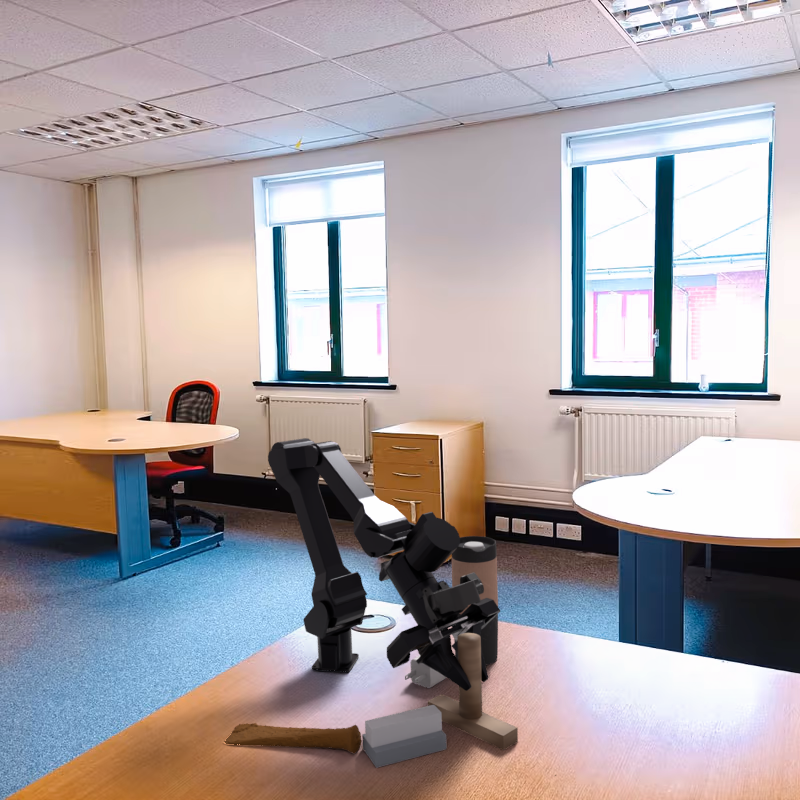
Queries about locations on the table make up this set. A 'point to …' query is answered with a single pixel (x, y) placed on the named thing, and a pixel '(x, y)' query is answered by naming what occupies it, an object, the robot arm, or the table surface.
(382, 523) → the robot arm
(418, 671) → the usb wall charger
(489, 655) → the travel mug
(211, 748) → the table surface
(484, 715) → the t bar
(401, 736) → the ridge block
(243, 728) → the primitive tool
